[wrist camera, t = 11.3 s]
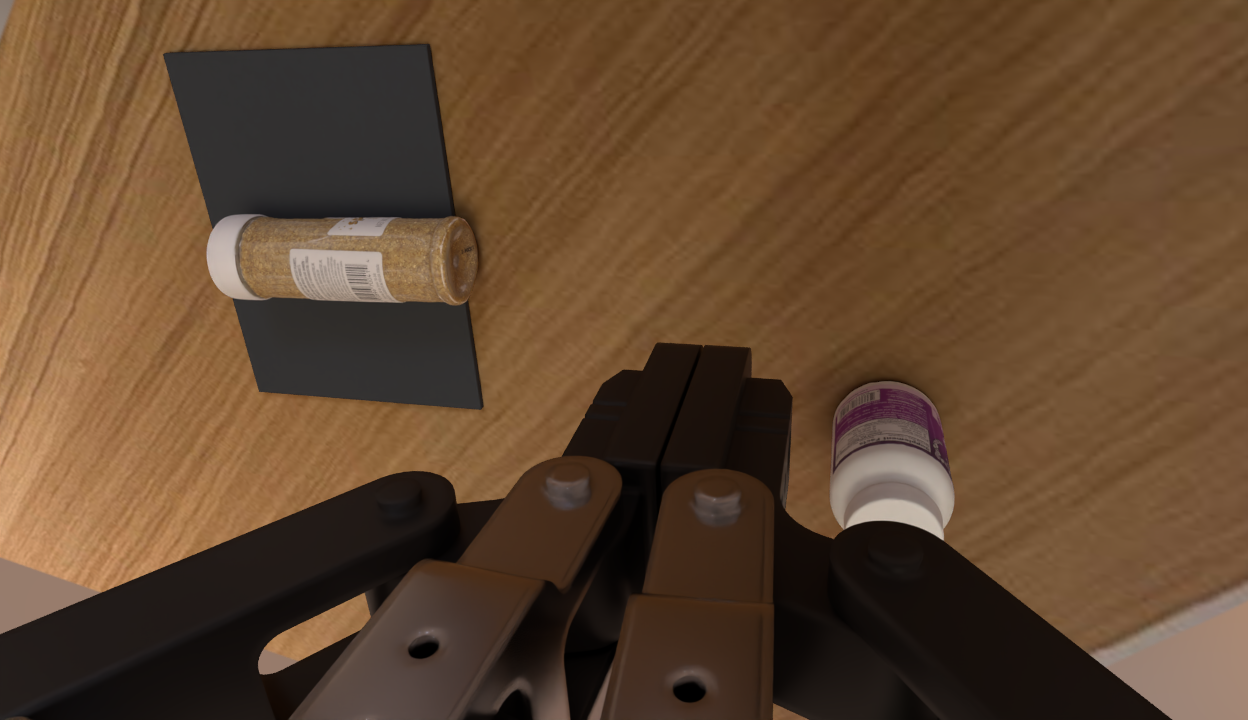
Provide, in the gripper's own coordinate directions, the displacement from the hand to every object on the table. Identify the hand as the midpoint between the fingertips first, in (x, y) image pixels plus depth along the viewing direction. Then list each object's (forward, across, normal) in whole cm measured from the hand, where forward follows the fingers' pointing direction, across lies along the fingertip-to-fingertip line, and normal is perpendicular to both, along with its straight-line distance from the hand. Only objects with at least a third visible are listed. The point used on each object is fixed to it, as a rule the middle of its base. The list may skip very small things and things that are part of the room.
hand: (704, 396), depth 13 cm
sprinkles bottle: (+24, +16, +7) cm, 30 cm away
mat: (+27, +25, +7) cm, 37 cm away
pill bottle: (+27, -5, +16) cm, 32 cm away
